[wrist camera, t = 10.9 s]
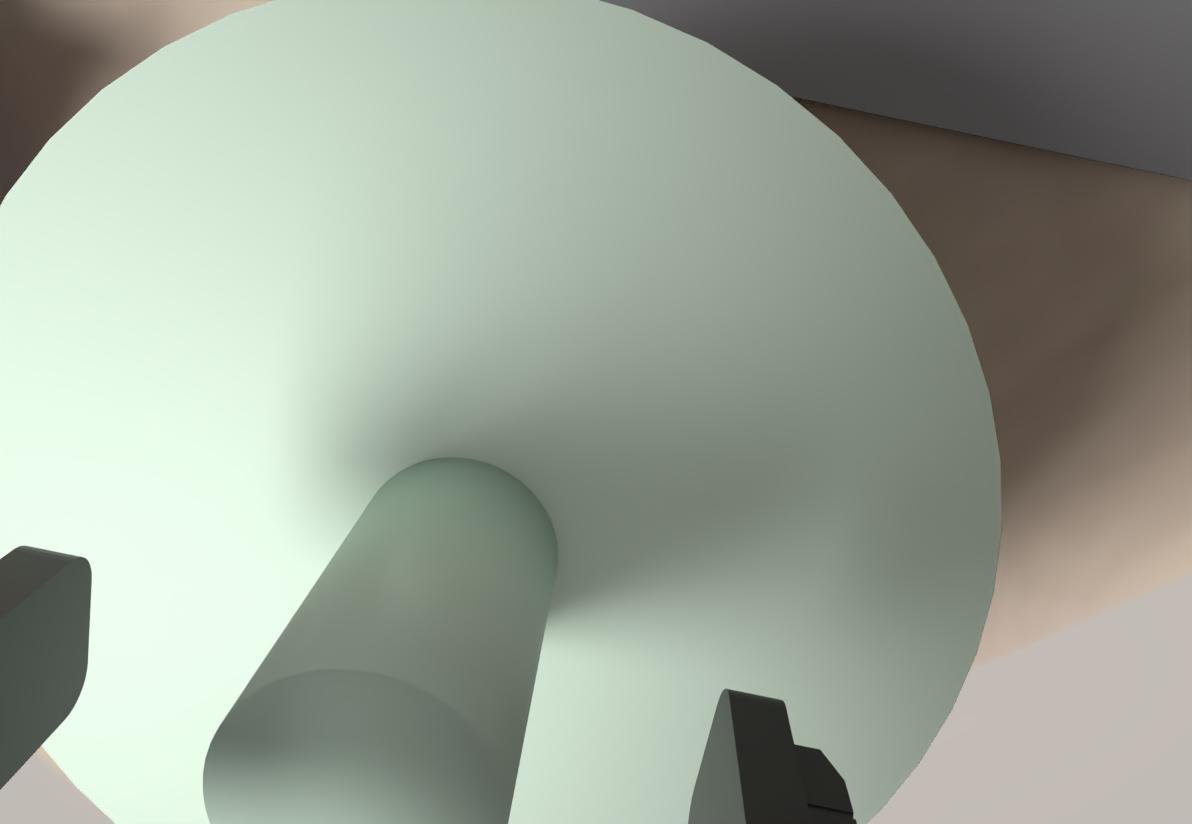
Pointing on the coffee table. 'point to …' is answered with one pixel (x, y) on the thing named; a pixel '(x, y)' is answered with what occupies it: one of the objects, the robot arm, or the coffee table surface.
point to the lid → (482, 422)
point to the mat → (977, 66)
